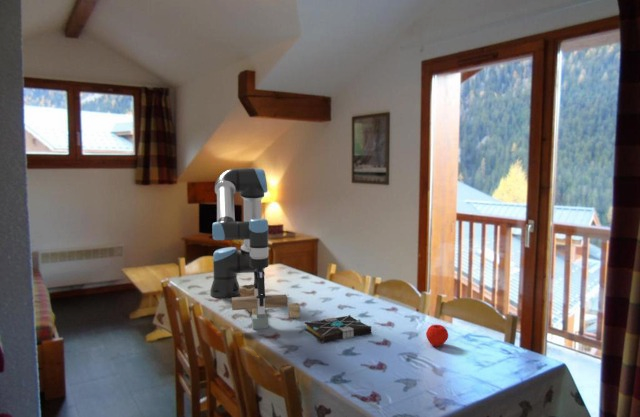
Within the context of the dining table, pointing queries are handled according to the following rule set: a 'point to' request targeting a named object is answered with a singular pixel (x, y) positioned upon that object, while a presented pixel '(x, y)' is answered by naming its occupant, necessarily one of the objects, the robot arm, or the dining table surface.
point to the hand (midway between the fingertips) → (259, 308)
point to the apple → (437, 335)
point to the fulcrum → (259, 321)
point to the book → (337, 328)
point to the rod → (252, 302)
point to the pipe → (247, 292)
